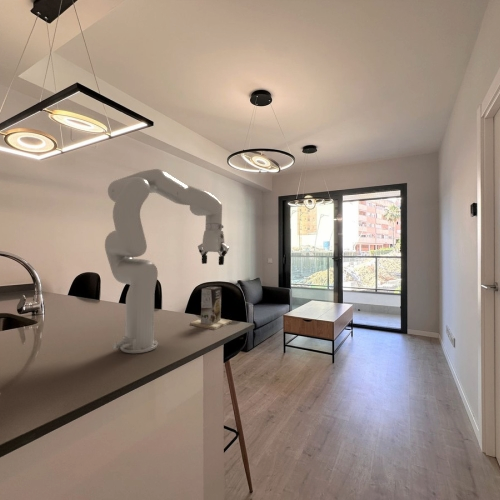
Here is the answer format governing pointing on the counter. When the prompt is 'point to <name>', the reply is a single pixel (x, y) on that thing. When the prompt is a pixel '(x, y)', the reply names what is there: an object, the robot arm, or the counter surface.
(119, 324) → the counter surface
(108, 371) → the counter surface
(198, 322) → the cream folded cloth
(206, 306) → the coffee box
